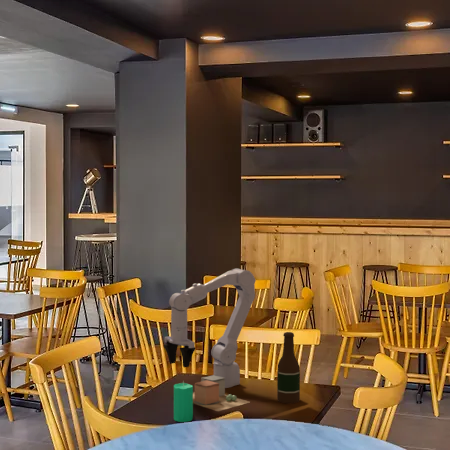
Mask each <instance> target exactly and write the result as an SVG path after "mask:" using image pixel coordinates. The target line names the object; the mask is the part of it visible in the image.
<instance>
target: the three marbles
mask: <svg viewBox="0 0 450 450" xmlns="http://www.w3.org/2000/svg"><path fill="white" fill-rule="evenodd" d="M227 395H228V396H227V397H226V400H227V401H230V400H231V399H232V400H233V401H235V400H236V399H237V398H238V397H237V395H235V394H233V395H232V393H230V394H229V393H228V394H227Z"/></svg>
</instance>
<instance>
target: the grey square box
mask: <svg viewBox="0 0 450 450" xmlns="http://www.w3.org/2000/svg"><path fill="white" fill-rule="evenodd" d="M206 380H209V381H212V382H216V383H219V396H223V395H226V388H225V378H223V377H220V376H216V375H214V374H212V375H207V376H203V377H201V379H200V382H202V381H206Z"/></svg>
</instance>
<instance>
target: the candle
mask: <svg viewBox="0 0 450 450" xmlns="http://www.w3.org/2000/svg"><path fill="white" fill-rule="evenodd" d="M193 392H194V386H193V384H189V383H186V382H184V380H183V381H182V382H180V383H175V384H173V420H174V421H175V422H180V423H184V422H185V423H186V422H190V421H192V420H193V419H194V403H193Z"/></svg>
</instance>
